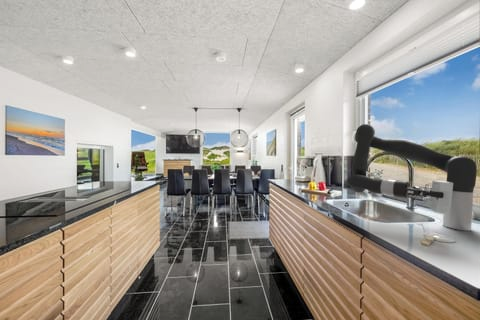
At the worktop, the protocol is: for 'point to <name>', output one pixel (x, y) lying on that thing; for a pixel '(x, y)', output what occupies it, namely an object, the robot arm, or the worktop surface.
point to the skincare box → (442, 203)
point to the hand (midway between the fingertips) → (445, 194)
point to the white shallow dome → (440, 237)
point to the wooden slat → (427, 241)
